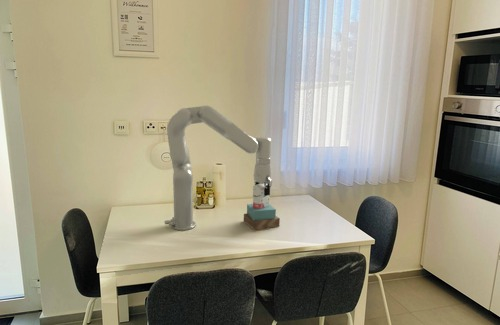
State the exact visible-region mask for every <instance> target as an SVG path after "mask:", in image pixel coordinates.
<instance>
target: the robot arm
mask: <svg viewBox="0 0 500 325" xmlns="http://www.w3.org/2000/svg"><path fill="white" fill-rule="evenodd" d="M201 123H204V124H205V125H206V126H208V127H210V128H211V129H212V130H213V131H215V132H216V133H218V134H219V135H220V136H222V137H223V138H225V139H227V141H230V142H231V143H233V144H235V145H236V146H237V147H239V148H240V149H241V150H243V151H244V152H245V153H247V154H255V165H254V171H253V173H254V174H253V181H254V185H257V184H264V186H265V188H264V195H265V196H267V195H271V188H272V184H273V180H272V178H271V175H272V174H271V155H272V153H271V152H272V138H270V137H266V136H265V137H264V136H260V137H255V136H250V135H249V133H247V132H245V131H243V130H242V129H241V128H240V127H238V126H237V124H235V123H234V122H233V121H232V120H230V119H229V118H227V117H226V116H224V115H223V114H222V113H221V112H219V111H218V110H217V109H215V108H214V107H212V106H210V105H200V106H193V107H187V108H186V107H184V108H180V109H179V110H178V111H177V112H175V113H174V114H173V115H172V116H171V118H170V119H169V121H168V123H167V126H166V132H167V141H168V148H169V157H170V159H171V163H172V164H171V165H172V168H173V173H172V174H173V175H172V184H173V188H172V189H173V217H172V218H171V219H170V220H165V221H164V225H166V226H167V225H168V226H170V227H171V228H172V229H173V230H176V231H189V230H192V229H194V228H195V227H196V226H197V223H196V222H195V221H194V217H193V211H194V209H193V208H194V206H193V203H194V201H193V200H194V199H193V197H194V196H193V186H194V185H193V184H194V178H193V177H194V174H193V170H192V169H193V168H192V163H191V157H190V151H189V147H188V146H187V141H186V138H187V137H186V128H187V127H189V126H190V125H193V124H201ZM266 184H267V185H266Z"/></svg>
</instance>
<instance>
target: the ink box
mask: <svg viewBox="0 0 500 325" xmlns="http://www.w3.org/2000/svg"><path fill="white" fill-rule="evenodd" d="M266 185H267V184H266ZM252 187H253V188H252V204H253V207H254V208H258V209H261V208H264V207H267V206H269V204H270V198H271V197H270V195H271V194H270V195H267V196H265V195H264V188H265V186H264V184H257V185H255V184H253V186H252Z"/></svg>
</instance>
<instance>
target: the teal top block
mask: <svg viewBox="0 0 500 325" xmlns="http://www.w3.org/2000/svg"><path fill="white" fill-rule="evenodd" d="M276 210H277V209H276V208H275V207H273V206H272V205H271V203H269V206H267V207H264V208H261V209H258V208H254V207H253V203H247V205H246V214H248V215H249V216H250V217H251V218H252V219H253V220H265V219H275V217H276V214H277V212H276Z"/></svg>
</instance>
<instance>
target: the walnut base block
mask: <svg viewBox="0 0 500 325" xmlns="http://www.w3.org/2000/svg"><path fill="white" fill-rule="evenodd" d="M280 222H281V220H280V217H278V216H276V217H275V219H265V220H253V219H252V218H251V217H250V216H249V215H248V214H247V213H244V214H243V223H245V224H246V225H248V226H249V227H250V228H252V229H254V230H255V231H261V230H265V229H271V228H277V227H280Z"/></svg>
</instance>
